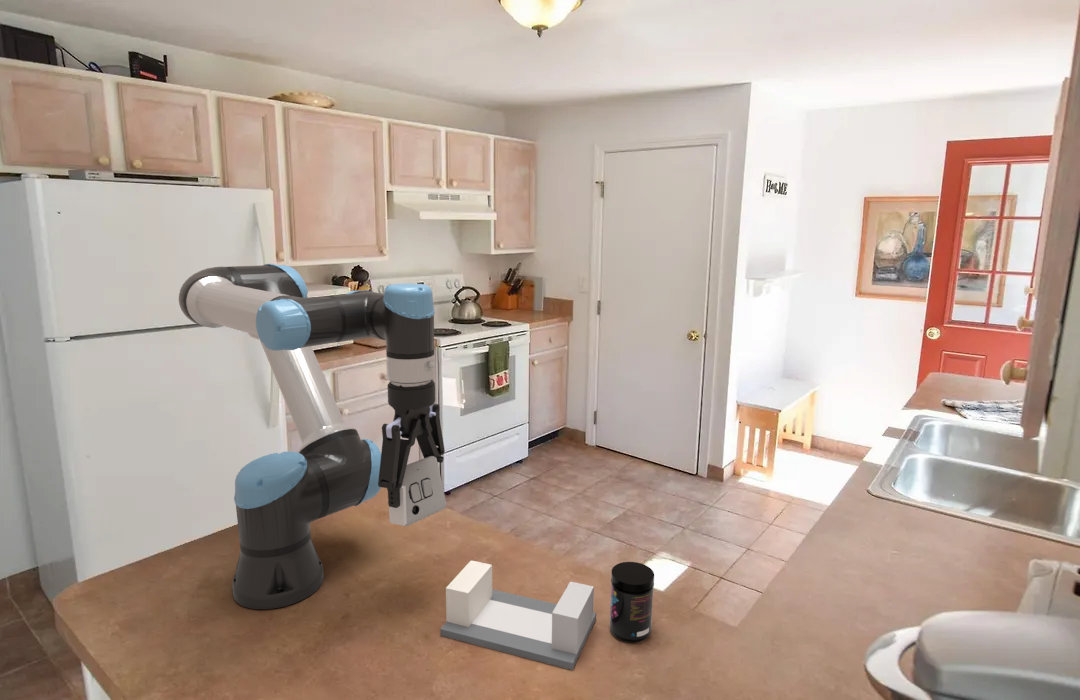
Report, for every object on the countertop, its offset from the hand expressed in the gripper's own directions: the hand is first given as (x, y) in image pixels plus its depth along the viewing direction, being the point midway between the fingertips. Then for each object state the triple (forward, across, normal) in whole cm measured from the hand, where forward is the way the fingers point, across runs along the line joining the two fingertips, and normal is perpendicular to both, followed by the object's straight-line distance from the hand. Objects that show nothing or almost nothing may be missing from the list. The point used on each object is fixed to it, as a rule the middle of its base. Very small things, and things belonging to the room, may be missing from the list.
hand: (414, 510), depth 105 cm
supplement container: (+17, +5, -36) cm, 40 cm away
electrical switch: (+1, 0, 0) cm, 1 cm away
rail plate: (+17, 0, -19) cm, 26 cm away
